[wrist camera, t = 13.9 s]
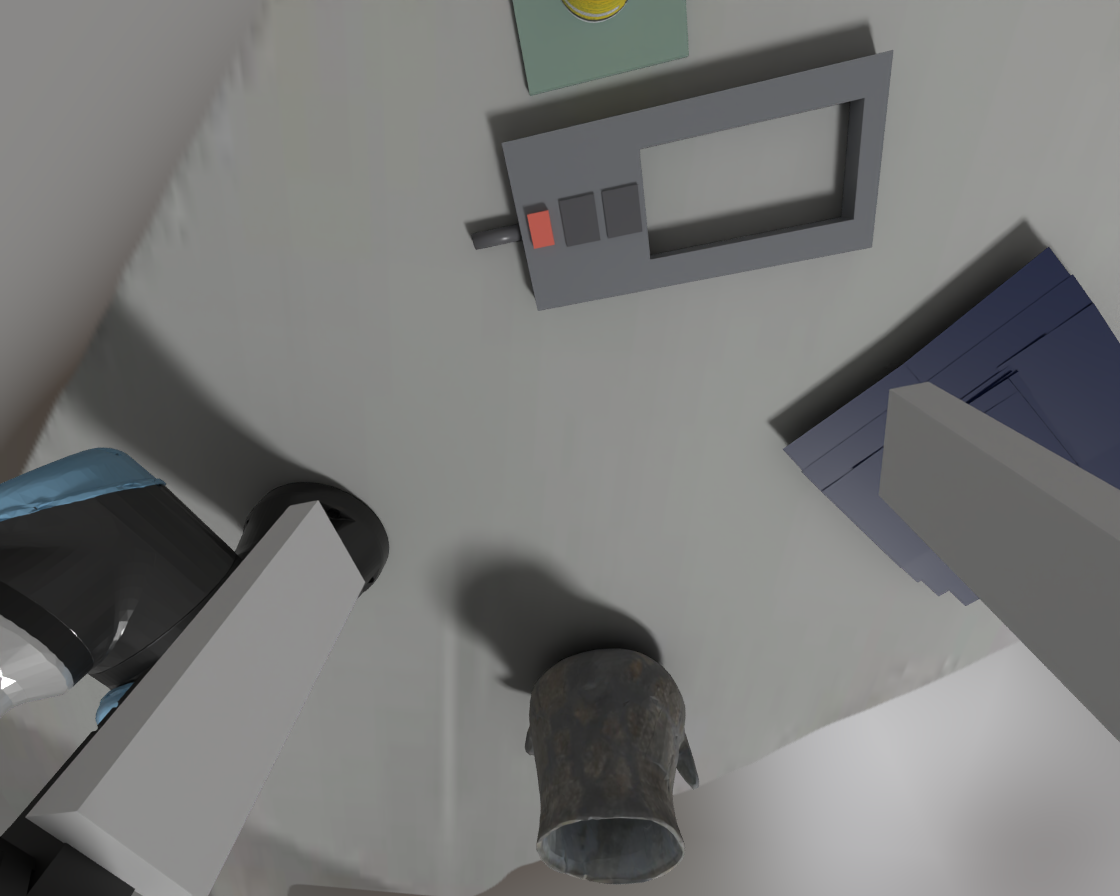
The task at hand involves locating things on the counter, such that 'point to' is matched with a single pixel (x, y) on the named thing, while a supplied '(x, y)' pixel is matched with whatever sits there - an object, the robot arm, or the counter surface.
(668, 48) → the rubber mat
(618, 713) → the vessel
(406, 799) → the counter surface
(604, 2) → the supplement bottle
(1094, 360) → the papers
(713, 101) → the rectangular frame
